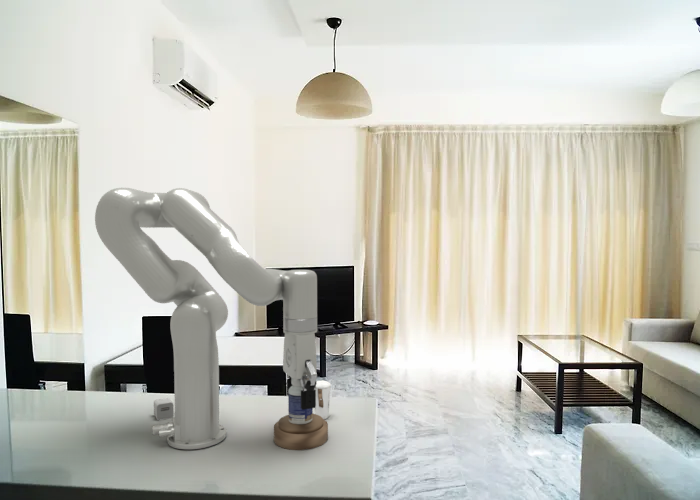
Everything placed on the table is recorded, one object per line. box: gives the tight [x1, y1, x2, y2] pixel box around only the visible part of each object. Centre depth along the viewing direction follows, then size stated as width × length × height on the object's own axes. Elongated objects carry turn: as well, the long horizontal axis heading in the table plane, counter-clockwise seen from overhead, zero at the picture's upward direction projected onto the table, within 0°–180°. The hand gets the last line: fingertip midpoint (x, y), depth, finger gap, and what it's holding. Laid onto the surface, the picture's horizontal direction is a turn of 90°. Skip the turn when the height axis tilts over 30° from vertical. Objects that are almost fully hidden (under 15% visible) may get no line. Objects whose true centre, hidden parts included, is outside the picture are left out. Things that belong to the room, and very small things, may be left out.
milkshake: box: [314, 377, 335, 420], centre depth 121 cm, size 4×5×10 cm
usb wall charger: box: [153, 397, 175, 421], centre depth 124 cm, size 4×7×4 cm, turn 31°
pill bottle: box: [287, 375, 314, 424], centre depth 108 cm, size 5×5×10 cm
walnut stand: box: [273, 413, 329, 451], centre depth 108 cm, size 12×12×4 cm
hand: (300, 401), depth 108 cm, fingers open, 9 cm apart
